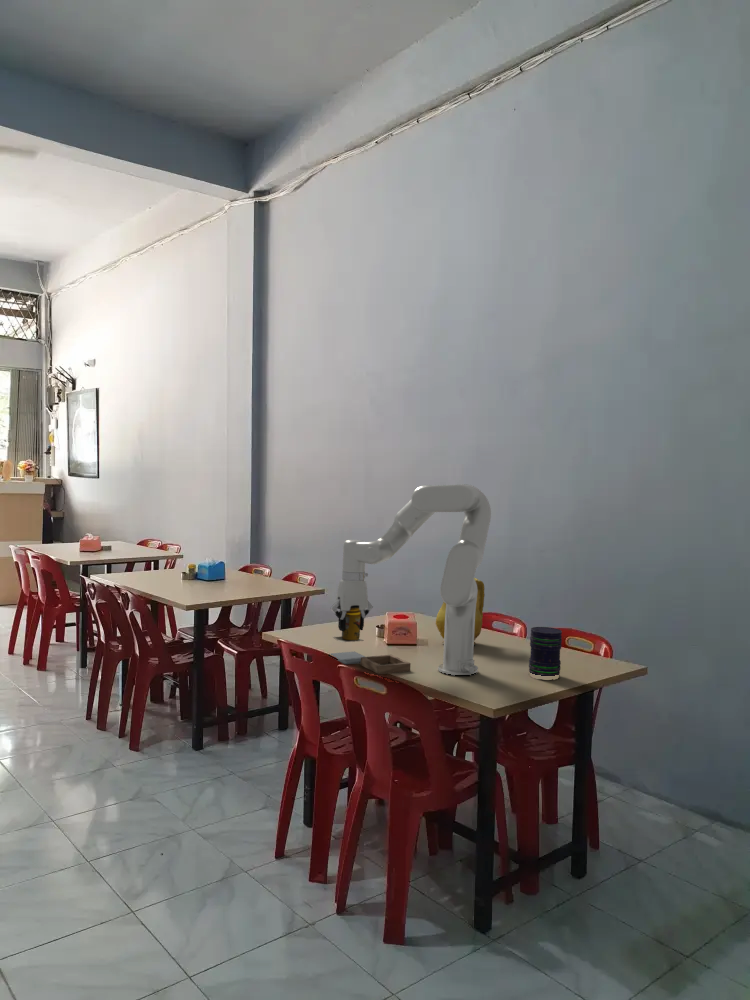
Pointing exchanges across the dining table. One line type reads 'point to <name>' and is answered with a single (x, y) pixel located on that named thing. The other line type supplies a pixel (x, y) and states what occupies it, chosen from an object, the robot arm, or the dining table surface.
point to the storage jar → (545, 651)
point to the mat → (348, 657)
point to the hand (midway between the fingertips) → (350, 629)
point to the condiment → (351, 626)
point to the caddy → (393, 667)
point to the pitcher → (478, 612)
